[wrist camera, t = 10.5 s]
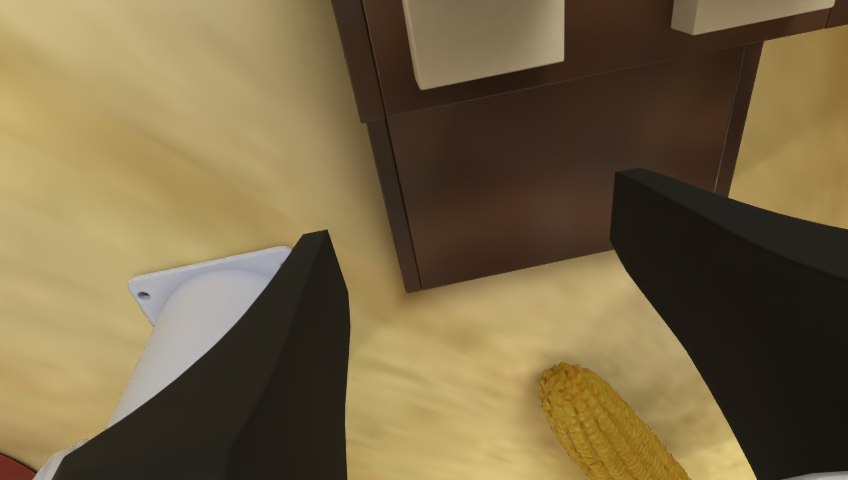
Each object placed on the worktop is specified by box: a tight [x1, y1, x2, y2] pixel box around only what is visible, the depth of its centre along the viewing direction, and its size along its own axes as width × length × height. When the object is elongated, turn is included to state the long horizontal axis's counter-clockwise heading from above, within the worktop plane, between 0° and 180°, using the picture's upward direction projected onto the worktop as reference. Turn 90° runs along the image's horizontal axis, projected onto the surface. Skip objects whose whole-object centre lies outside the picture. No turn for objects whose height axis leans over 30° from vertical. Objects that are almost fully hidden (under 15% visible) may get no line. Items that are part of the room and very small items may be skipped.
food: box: [539, 362, 691, 480], centre depth 33 cm, size 21×6×6 cm, turn 37°
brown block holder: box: [331, 0, 848, 293], centre depth 18 cm, size 20×16×6 cm
